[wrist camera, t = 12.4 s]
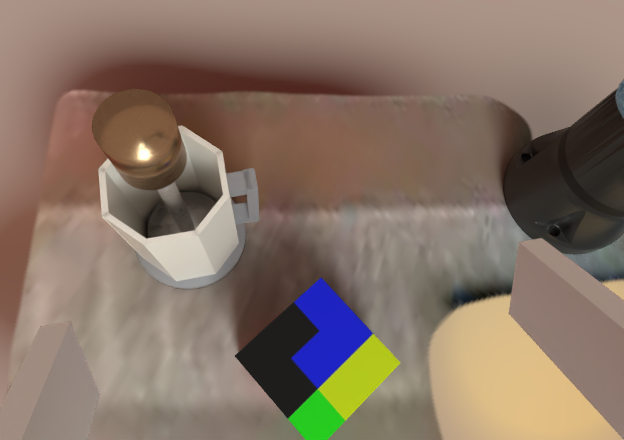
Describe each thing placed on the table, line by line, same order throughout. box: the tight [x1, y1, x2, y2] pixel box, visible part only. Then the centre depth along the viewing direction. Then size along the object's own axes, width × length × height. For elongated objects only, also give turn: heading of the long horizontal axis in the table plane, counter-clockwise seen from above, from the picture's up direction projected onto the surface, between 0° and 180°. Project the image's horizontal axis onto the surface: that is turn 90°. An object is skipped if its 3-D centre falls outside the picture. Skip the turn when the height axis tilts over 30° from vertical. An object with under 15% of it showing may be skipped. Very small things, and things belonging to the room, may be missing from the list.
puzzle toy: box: [235, 278, 400, 440], centre depth 45 cm, size 10×10×10 cm
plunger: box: [92, 89, 216, 238], centre depth 40 cm, size 8×8×22 cm
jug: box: [98, 126, 259, 289], centre depth 46 cm, size 14×12×15 cm
